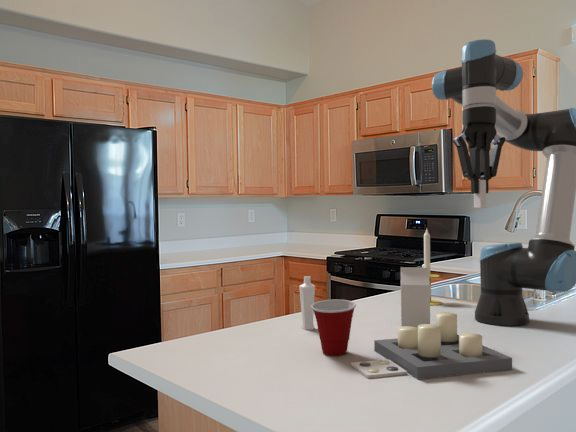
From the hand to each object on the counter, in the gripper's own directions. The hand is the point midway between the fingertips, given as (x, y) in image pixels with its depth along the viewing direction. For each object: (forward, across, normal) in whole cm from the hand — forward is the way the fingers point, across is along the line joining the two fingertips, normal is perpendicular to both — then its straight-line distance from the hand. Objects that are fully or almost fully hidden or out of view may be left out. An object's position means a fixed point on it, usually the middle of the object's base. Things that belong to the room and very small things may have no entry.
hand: (479, 207), depth 124 cm
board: (+34, +13, +3) cm, 37 cm away
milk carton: (+35, +10, -14) cm, 39 cm away
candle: (+35, -18, -59) cm, 71 cm away
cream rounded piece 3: (+34, +18, -2) cm, 39 cm away
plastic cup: (+35, +34, -9) cm, 49 cm away
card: (+34, +29, +6) cm, 45 cm away
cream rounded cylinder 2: (+34, +8, +8) cm, 36 cm away
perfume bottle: (+35, +33, -35) cm, 59 cm away
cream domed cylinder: (+31, +18, +8) cm, 37 cm away
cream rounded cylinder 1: (+31, +8, -2) cm, 32 cm away
